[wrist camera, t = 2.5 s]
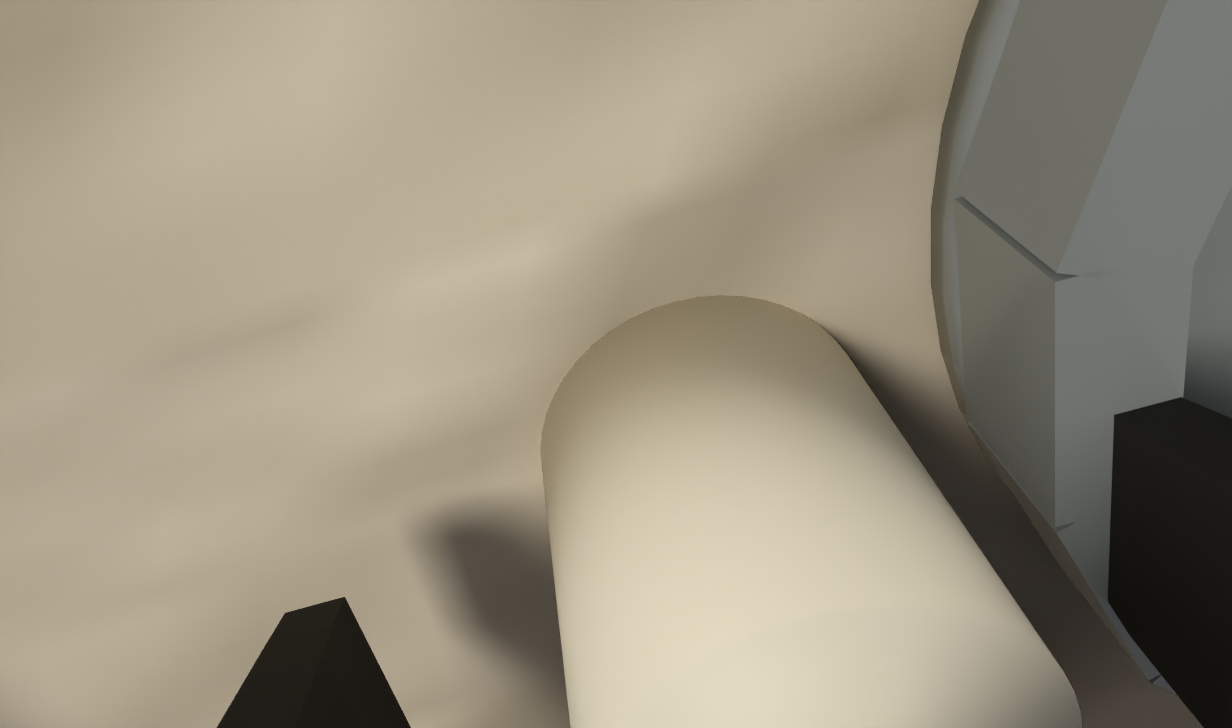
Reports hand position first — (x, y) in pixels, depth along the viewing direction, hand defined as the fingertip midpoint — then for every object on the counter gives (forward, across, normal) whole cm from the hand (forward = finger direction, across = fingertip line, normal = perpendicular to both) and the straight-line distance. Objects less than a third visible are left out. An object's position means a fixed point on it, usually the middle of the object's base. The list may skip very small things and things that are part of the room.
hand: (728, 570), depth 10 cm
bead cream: (+2, 0, 0) cm, 2 cm away
